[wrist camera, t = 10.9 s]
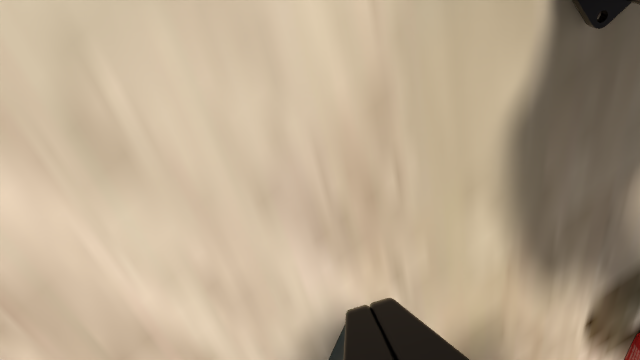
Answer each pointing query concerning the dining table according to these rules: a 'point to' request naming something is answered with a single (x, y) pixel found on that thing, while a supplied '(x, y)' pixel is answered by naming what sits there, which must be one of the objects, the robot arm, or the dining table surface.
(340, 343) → the watch
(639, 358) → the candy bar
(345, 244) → the dining table surface
